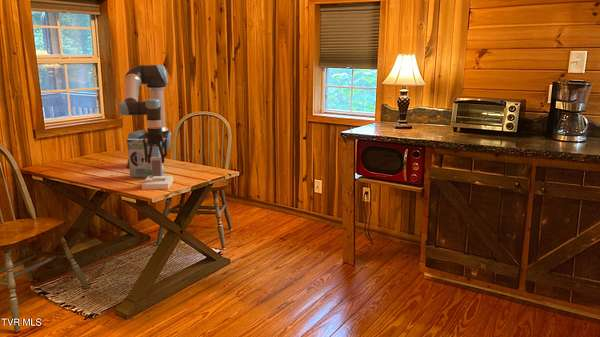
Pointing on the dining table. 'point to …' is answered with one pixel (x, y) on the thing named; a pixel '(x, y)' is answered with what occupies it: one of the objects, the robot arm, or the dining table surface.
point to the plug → (156, 166)
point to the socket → (157, 182)
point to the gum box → (140, 158)
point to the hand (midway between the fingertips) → (157, 168)
